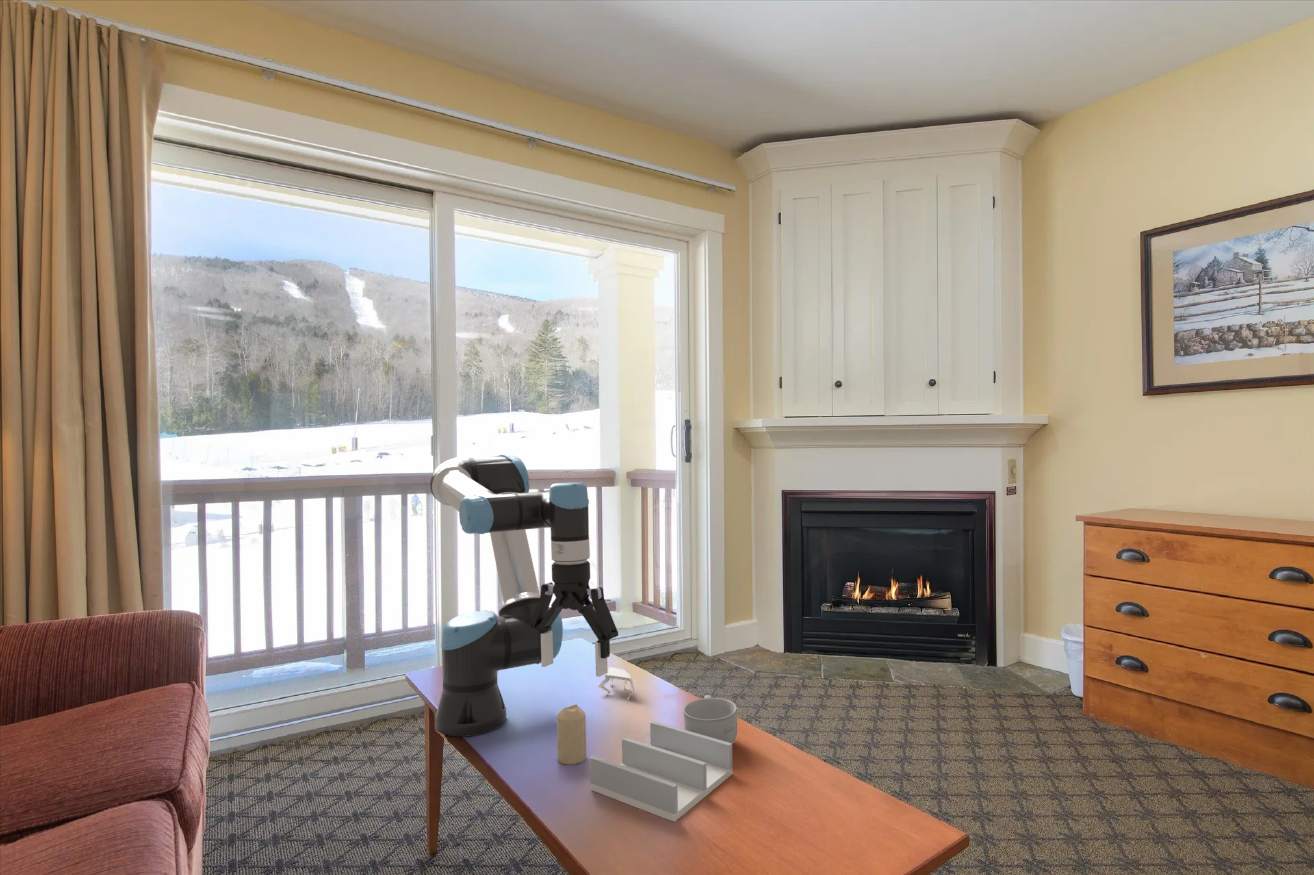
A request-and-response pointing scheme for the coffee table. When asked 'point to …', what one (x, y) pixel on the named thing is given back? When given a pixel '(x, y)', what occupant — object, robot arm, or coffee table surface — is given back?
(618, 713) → the coffee table surface
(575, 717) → the candle
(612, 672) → the origami figure
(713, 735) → the teacup
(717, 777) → the slot rack
